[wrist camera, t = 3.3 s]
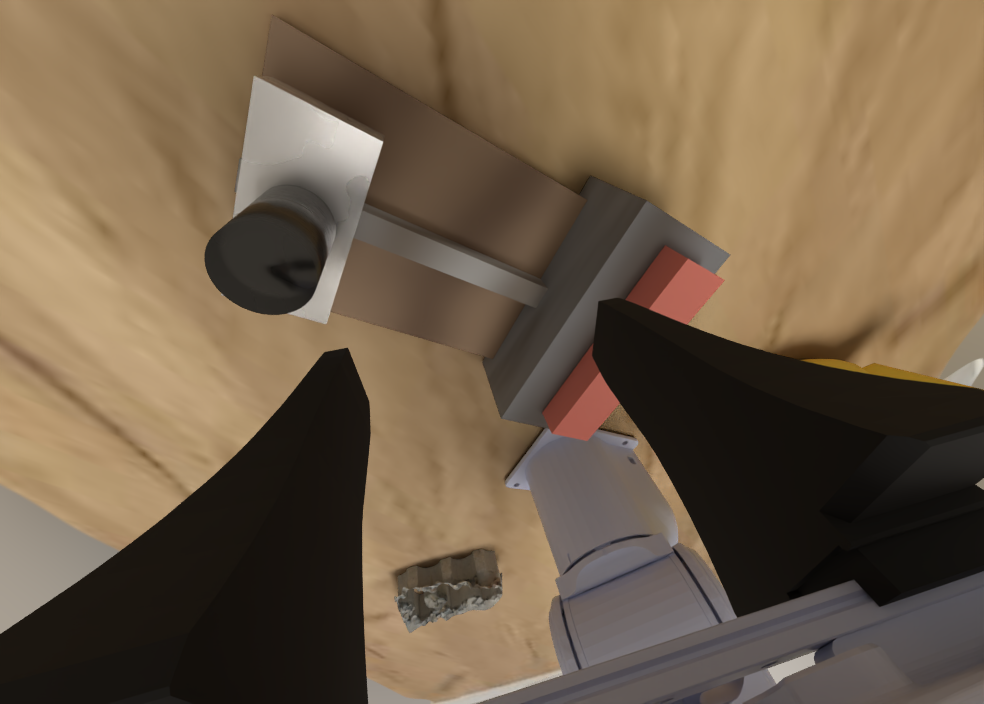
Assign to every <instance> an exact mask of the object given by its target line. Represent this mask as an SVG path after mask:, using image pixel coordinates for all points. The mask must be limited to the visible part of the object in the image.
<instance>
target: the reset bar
mask: <svg viewBox="0 0 984 704" xmlns="http://www.w3.org/2000/svg"><path fill="white" fill-rule="evenodd" d="M724 281H725V280H724V279H722V278H720V277H718V276H717V275H715V274H713V273H712V272H710V271H708V270H707V269H705V268H703V267H701V266H700V265H698V264H696V263H695V262H693V261H691V260H690V259H688V258H686V257H684V256H683V255H681V254H679V253H678V252H676V251H674V250H672V249H671V248H669V247H667V246H664V248H663V249H662V250H661V252H660V253H659V254H658V256H657V257H656V258H655V260H654V261H653V263H652V264H651V265H650V267H649V268H648V269H647V271H646V272H645V273H644V275H643V276H642V277H641V279H640V280H639V282H638V283H637V284H636V286H635V287H634V288H633V290H632V291H631V292H630V294H629V295H628V297H627V298H626V299H625V300H627V301H630V302H633V303H635V304H638V305H640V306H643V307H645V308H648V309H650V310H652V311H655V312H657V313H660V314H662V315H664V316H667V317H669V318H672V319H674V320H676V321H679V322H681V323H684V324H686V325H687V324H688V323H689V322H690V320H691V319H692V318H693V317H694V316H695V314H696V313H697V312H698V311H699V310H700V309H701V307H702V306H703V305H704V304H705V303H706V302H707V300H708V299H709V298H710V297H711V296H712V295H713V293H714V292H715V291H716V290H717V289H718V288H719V286H720V285H721V284H722V283H723V282H724ZM592 350H593V344H592V346H591V347H590V348H589V350H588V351H587V352H586V354H585V355H584V356H583V358H582V359H581V361H580V362H579V363H578V365H577V366H576V367H575V369H574V370H573V371H572V373H571V374H570V376H569V377H568V378H567V380H566V381H565V382H564V384H563V385H562V386H561V388H560V389H559V391H558V392H557V393H556V395H555V396H554V397H553V399H552V400H551V401H550V403H549V404H548V406H547V407H546V408H545V410H544V411H543V412H542V414H543V416H544V418H545V420H546V422H547V424H548V427H549V429H550V431H551V433H552V434H555V435H560V436H565V437H570V438H575V439H580V440H584V441H588V440H589V439H590V437H591V436H592V435H593V434H594V433H595V432H596V430H597V429H598V428H599V427H600V426H601V425H602V423H603V422H604V421H605V420H606V419H607V418H608V416H609V415H610V414H611V413H612V412H613V410H614V409H615V408H616V407H617V406H618V405H619V403H620V402H619V401H618V399H617V398H616V397H615V395H614V394H613V392H612V391H611V390H610V388H609V387H608V385H607V384H606V382H605V381H604V379H603V377H602V375H601V373H600V371H599V369H598V367H597V365H596V363H595V361H594V359H593V357H592Z"/></svg>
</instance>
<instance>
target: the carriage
mask: <svg viewBox="0 0 984 704" xmlns="http://www.w3.org/2000/svg"><path fill="white" fill-rule="evenodd" d="M383 141H384V135H383V134H381V133H379V132H377V131H375V130H373V129H371V128H370V127H368V126H366V125H364V124H362V123H360V122H358V121H356V120H354V119H352V118H350V117H348V116H347V115H345V114H343V113H341V112H339V111H337V110H335V109H333V108H331V107H329V106H327V105H326V104H324V103H322V102H320V101H318V100H316V99H314V98H312V97H310V96H308V95H306V94H305V93H303V92H301V91H299V90H297V89H295V88H293V87H291V86H289V85H287V84H285V83H283V82H282V81H280V80H278V79H276V78H274V77H266V76H254V79H253V86H252V92H251V99H250V106H249V113H248V119H247V126H246V133H245V140H244V146H243V153H242V160H241V166H240V173H239V180H238V187H237V193H236V200H235V207H234V214H233V219H232V220H231V221H229V222H228V223H227V224H226V225H225V226H223V227H222V228H221V229H220V230H219V231H217V232H216V233H215V234H214V235H213V236H212V237H211V239H210V240H209V242H208V244H207V246H206V250H205V266H206V269H207V273H208V275H209V277H210V279H211V281H212V282H213V284H214V285H215V286H216V288H217V289H218V290H219V291H220V292H221V293H222V294H221V295H222V296H225V297H227V298H228V299H229V300H230V301H232V302H233V303H235V304H237V305H239V306H240V307H242V308H245V309H247V310H250V311H253V312H256V313H261V314H268V315H280V314H291V315H295V316H298V317H302V318H305V319H309V320H313V321H316V322H320V323H323V324H327V320H328V317H329V314H330V311H331V308H332V304H333V301H334V298H335V295H336V292H337V288H338V285H339V282H340V279H341V276H342V272H343V269H344V266H345V263H346V260H347V256H348V253H349V250H350V247H351V244H352V240H353V237H354V234H355V231H356V228H357V224H358V221H359V218H360V215H361V212H362V208H363V205H364V202H365V199H366V196H367V192H368V189H369V186H370V183H371V180H372V176H373V173H374V170H375V167H376V164H377V161H378V157H379V154H380V151H381V148H382V145H383Z"/></svg>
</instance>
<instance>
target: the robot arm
mask: <svg viewBox="0 0 984 704" xmlns="http://www.w3.org/2000/svg"><path fill="white" fill-rule="evenodd" d="M592 357H593V359H594V361H595V363H596V365H597V367H598V369H599V371H600V373H601V375H602V377H603V379H604V381H605V382H606V384H607V385H608V387H609V388H610V390H611V391H612V392H613V394H614V395H615V397H616V398H617V399H618V401H619V402H620V404H621V405H622V406H623V408H624V409H625V411H626V412H627V413H628V415H629V416H630V417H631V419H632V420H633V422H634V423H635V424H636V426H637V427H638V429H639V430H640V431H641V433H642V434H643V435H644V437H645V438H646V440H647V441H648V443H649V444H650V446H651V447H652V449H653V450H654V452H655V453H656V455H657V457H658V459H659V460H660V462H661V464H662V466H663V467H664V469H665V471H666V473H667V474H668V476H669V478H670V480H671V481H672V483H673V485H674V487H675V489H676V491H677V493H678V494H679V496H680V498H681V500H682V502H683V504H684V506H685V508H686V509H687V511H688V513H689V515H690V517H691V519H692V521H693V523H694V525H695V527H696V529H697V532H698V534H699V536H700V538H701V540H702V542H703V544H704V546H705V548H706V550H707V552H708V554H709V556H710V559H711V561H712V563H713V565H714V567H715V570H716V572H717V574H718V576H719V578H720V581H721V583H722V585H723V587H724V588H723V587H722V585H721V584H720V582H719V581H718V579H717V578H716V576H715V575H714V573H713V572H712V571H711V569H710V568H709V566H708V565H707V564H706V563H705V561H704V560H703V559H702V558H701V556H700V555H699V554H698V553H697V552H696V551H695V550H693V549H691V548H689V547H686V546H684V545H683V544H681V543H678V528H677V522H676V519H675V516H674V513H673V511H672V509H671V507H670V505H669V504H668V502H667V501H666V499H665V498H664V496H663V495H662V493H661V492H660V490H659V489H658V487H657V486H656V484H655V483H654V481H653V480H652V478H651V477H650V475H649V474H648V472H647V471H646V469H645V468H644V466H643V465H642V463H641V462H640V460H639V459H638V457H637V456H636V454H635V453H634V451H633V449H634V448H635V447H636V446H637V445H638V440H637V439H636V438H633V437H629V436H625V435H620V434H616V433H612V432H607V431H603V430H598V429H597V430H596V432H595V433H594V434H593V435H592V436H591V437H590V439H589V440H588V441H584V440H580V439H575V438H570V437H565V436H560V435H555V434H552V433H551V431H550V429H548V428H545V429H544V430H543V432H542V433H541V434H540V436H539V437H538V438H537V440H536V441H535V442H534V444H533V445H532V446H531V448H530V449H529V450H528V451H527V453H526V454H525V455H524V457H523V458H522V459H521V461H520V462H519V463H518V465H517V466H516V467H515V469H514V470H513V471H512V473H511V474H510V475H509V476H508V478H507V479H506V481H505V484H506V487H508V488H516V489H524V490H531V493H532V496H533V499H534V502H535V505H536V508H537V511H538V513H539V516H540V519H541V522H542V525H543V528H544V531H545V534H546V537H547V539H548V542H549V545H550V548H551V551H552V554H553V557H554V560H555V563H556V566H557V568H558V571H559V574H560V577H558V578H556V580H555V581H556V584H557V587H558V590H559V593H560V595H559V596H555V597H554V598H553V599H552V603H551V609H550V612H549V625H550V631H551V636H552V640H553V644H554V648H555V651H556V655H557V658H558V661H559V664H560V667H561V670H562V673H563V675H562V676H559V677H556V678H553V679H550V680H547V681H544V682H541V683H538V684H535V685H532V686H529V687H526V688H523V689H520V690H517V691H514V692H511V693H508V694H504V695H501V696H498V697H495V698H492V699H489V700H486V701H483V702H480V703H477V704H984V490H983V489H981V488H980V487H978V486H977V485H975V484H976V483H978V482H979V481H980V480H982V479H983V478H984V390H981V389H978V388H972V387H963V386H955V385H947V384H938V383H930V382H922V381H914V380H905V379H898V378H891V377H885V376H879V375H873V374H867V373H861V372H855V371H850V370H844V369H839V368H834V367H829V366H824V365H820V364H815V363H811V362H806V361H802V360H797V359H793V358H789V357H785V356H781V355H777V354H773V353H770V352H766V351H763V350H759V349H756V348H752V347H749V346H745V345H742V344H739V343H736V342H733V341H730V340H727V339H724V338H721V337H718V336H716V335H713V334H710V333H707V332H704V331H702V330H699V329H697V328H694V327H691V326H689V325H686V324H684V323H681V322H679V321H676V320H674V319H672V318H669V317H667V316H664V315H662V314H660V313H657V312H655V311H652V310H650V309H648V308H645V307H643V306H640V305H638V304H635V303H633V302H630V301H627V300H624V299H621V298H612V299H607V300H602V301H598V309H597V317H596V325H595V334H594V342H593V350H592ZM370 434H371V432H370V406H369V400H368V397H367V395H366V392H365V390H364V387H363V385H362V382H361V380H360V377H359V375H358V372H357V369H356V367H355V364H354V362H353V359H352V357H351V354H350V352H349V349H348V348H344V349H339V350H333V351H328V352H324V353H323V355H322V356H321V357H320V358H319V359H318V361H317V362H316V363H315V364H314V366H313V367H312V368H311V370H310V371H309V372H308V373H307V375H306V376H305V377H304V378H303V380H302V381H301V382H300V383H299V385H298V386H297V387H296V388H295V390H294V391H293V392H292V393H291V395H290V396H289V397H288V398H287V400H286V401H285V402H284V403H283V404H282V406H281V407H280V408H279V409H278V410H277V411H276V412H275V413H274V415H273V416H272V417H271V418H270V419H269V420H268V421H267V422H266V423H265V425H264V426H263V427H262V428H261V429H260V430H259V431H258V432H257V433H256V435H255V436H254V437H253V438H252V439H251V440H250V441H249V442H248V443H247V444H246V445H245V446H244V447H243V448H242V449H241V450H240V451H239V452H238V453H237V454H236V455H235V456H234V457H233V458H232V459H231V460H230V461H229V462H228V463H226V464H225V465H224V466H223V467H222V468H221V469H220V470H219V471H218V472H217V473H216V474H215V475H214V476H213V477H211V478H210V479H209V480H208V481H207V482H206V483H205V484H203V485H202V486H201V487H200V488H199V489H197V490H196V491H195V492H194V493H193V494H191V495H190V496H189V497H188V498H187V499H186V500H184V501H183V502H182V503H181V504H180V505H178V506H177V507H176V508H175V509H174V510H172V511H171V512H170V513H169V514H168V515H166V516H165V517H164V518H163V519H162V520H160V521H159V522H158V523H157V524H155V525H154V526H153V527H151V528H150V529H149V530H147V531H146V532H145V533H144V534H142V535H141V536H140V537H138V538H137V539H136V540H134V541H133V542H132V543H131V544H129V545H128V546H126V547H125V548H124V549H122V550H121V551H120V552H118V553H117V554H116V555H114V556H113V557H111V558H110V559H109V560H107V561H106V562H105V563H103V564H102V565H101V566H99V567H98V568H96V569H95V570H94V571H92V572H91V573H89V574H88V575H87V576H85V577H84V578H82V579H81V580H80V581H78V582H77V583H75V584H74V585H72V586H71V587H69V588H68V589H66V590H65V591H64V592H62V593H60V594H59V595H58V596H56V597H54V598H53V599H52V600H50V601H49V602H47V603H46V604H44V605H43V606H41V607H40V608H38V609H37V610H35V611H34V612H33V613H31V614H29V615H28V616H26V617H25V618H24V619H22V620H20V621H19V622H18V623H16V624H14V625H13V626H12V627H10V628H9V629H7V630H6V631H4V632H3V633H1V634H0V704H368V694H367V677H366V660H365V639H364V615H363V577H362V519H363V505H364V495H365V485H366V475H367V466H368V456H369V445H370ZM815 651H816V652H815ZM812 652H815V656H814V661H815V664H816V665H814V666H811V667H808V668H806V669H804V670H801V671H799V672H797V673H794V674H792V675H790V676H787V677H785V678H783V679H782V680H781V681H780V682H779V683H778V684H776V683H775V681H774V679H773V678H772V676H771V674H770V673H769V671H768V669H767V668H770V667H772V666H775V665H778V664H781V663H784V662H786V661H790V660H792V659H795V658H798V657H801V656H803V655H806V654H809V653H812Z"/></svg>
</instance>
